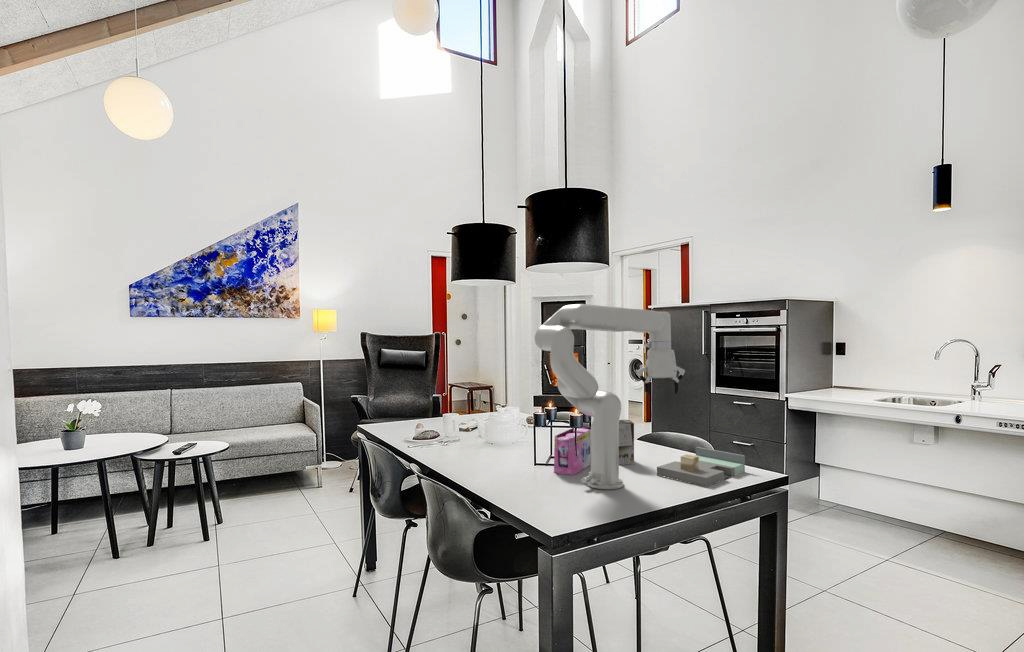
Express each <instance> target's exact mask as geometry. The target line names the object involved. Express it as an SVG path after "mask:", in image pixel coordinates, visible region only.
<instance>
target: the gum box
mask: <svg viewBox="0 0 1024 652" xmlns="http://www.w3.org/2000/svg"><path fill="white" fill-rule="evenodd" d="M578 427H579V428H578V430H577V456H576V451H575V429H574V427H572V428H570V429H567V430H565V431H563V432H561V433H558V434H556V435H554V448H553V449H554V450H553V451H554V453H553V454H554V457H553V459H554V460H553V473H555V474H561V473H562V475H568V474H569V475H570V476H574V475H575V474H577V473H579V472H580V471H582V470H584V469H585V468H587V467H588V466H590V428H591V427H587V426H578Z"/></svg>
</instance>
